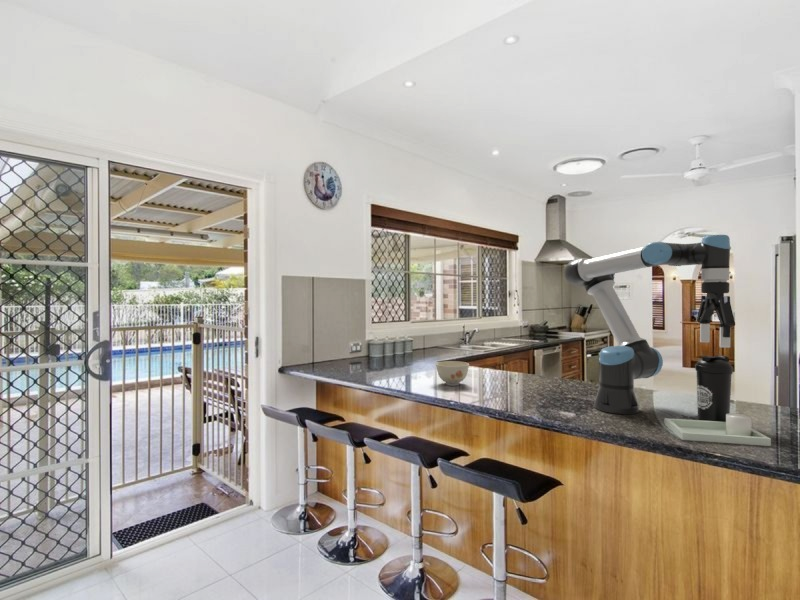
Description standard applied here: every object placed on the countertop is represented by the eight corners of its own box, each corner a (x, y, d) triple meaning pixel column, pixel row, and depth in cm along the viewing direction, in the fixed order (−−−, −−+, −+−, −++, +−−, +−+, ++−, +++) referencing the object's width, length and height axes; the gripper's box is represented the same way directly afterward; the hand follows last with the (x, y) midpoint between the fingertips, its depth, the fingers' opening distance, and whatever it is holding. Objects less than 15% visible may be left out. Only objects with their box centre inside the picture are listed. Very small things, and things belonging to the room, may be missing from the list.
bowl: (434, 387, 199) (434, 366, 199) (437, 380, 215) (437, 360, 215) (469, 388, 197) (469, 367, 197) (469, 381, 213) (469, 361, 212)
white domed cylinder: (731, 438, 126) (732, 418, 126) (721, 432, 132) (722, 412, 132) (755, 440, 124) (755, 419, 124) (744, 433, 130) (744, 414, 130)
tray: (682, 443, 125) (682, 432, 125) (664, 427, 140) (664, 418, 140) (770, 449, 120) (770, 438, 120) (742, 432, 134) (742, 422, 134)
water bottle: (687, 420, 147) (688, 353, 147) (714, 419, 148) (715, 353, 148) (711, 429, 137) (711, 358, 137) (740, 428, 138) (741, 357, 138)
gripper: (749, 280, 129) (748, 350, 130) (710, 282, 153) (709, 340, 154) (721, 280, 131) (720, 349, 131) (686, 282, 155) (685, 340, 156)
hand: (714, 344), depth 143 cm, fingers open, 13 cm apart
